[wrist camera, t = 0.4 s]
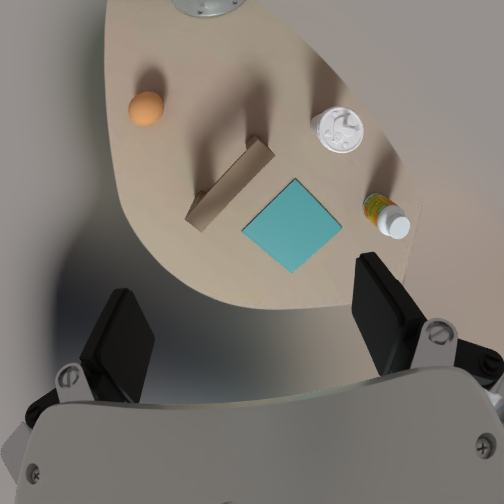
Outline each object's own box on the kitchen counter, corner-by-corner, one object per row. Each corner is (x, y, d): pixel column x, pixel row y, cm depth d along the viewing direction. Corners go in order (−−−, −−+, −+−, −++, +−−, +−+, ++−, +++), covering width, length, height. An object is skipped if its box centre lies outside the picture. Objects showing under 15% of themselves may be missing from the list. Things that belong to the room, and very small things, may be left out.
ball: (129, 112, 37) (115, 113, 32) (150, 86, 35) (138, 83, 30) (153, 131, 39) (142, 134, 34) (174, 104, 37) (165, 104, 32)
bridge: (194, 198, 45) (184, 219, 37) (254, 134, 40) (258, 139, 32) (208, 209, 46) (201, 232, 38) (267, 146, 41) (275, 155, 33)
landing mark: (241, 231, 48) (241, 231, 48) (295, 179, 44) (295, 179, 44) (291, 272, 53) (291, 273, 53) (341, 227, 48) (342, 228, 48)
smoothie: (346, 119, 39) (387, 125, 27) (328, 151, 42) (363, 169, 29) (313, 99, 37) (345, 95, 25) (294, 132, 40) (319, 142, 28)
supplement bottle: (370, 188, 45) (396, 207, 36) (391, 199, 46) (418, 219, 37) (357, 213, 47) (380, 237, 39) (378, 223, 48) (403, 247, 40)
